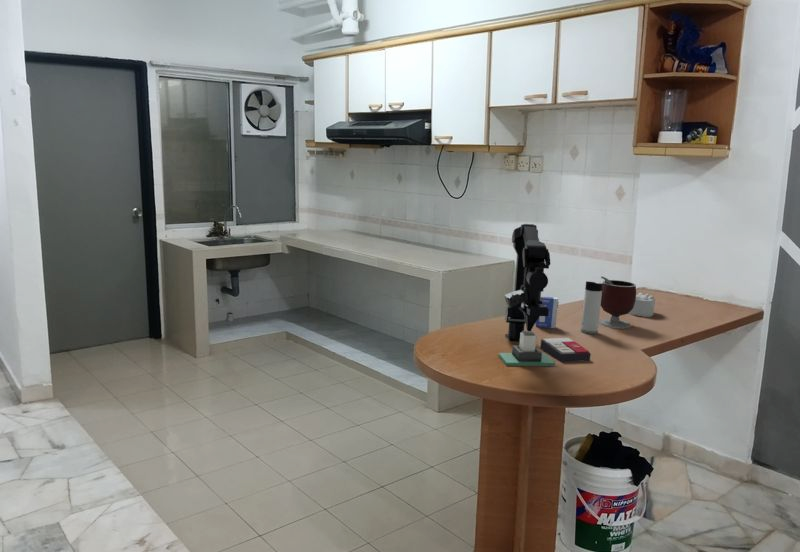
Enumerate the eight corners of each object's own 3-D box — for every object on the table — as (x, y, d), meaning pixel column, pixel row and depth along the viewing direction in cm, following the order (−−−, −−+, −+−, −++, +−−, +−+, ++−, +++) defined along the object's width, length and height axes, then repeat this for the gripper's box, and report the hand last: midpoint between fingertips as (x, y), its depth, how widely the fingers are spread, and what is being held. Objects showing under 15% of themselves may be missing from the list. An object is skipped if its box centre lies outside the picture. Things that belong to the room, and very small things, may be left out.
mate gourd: (618, 319, 279) (623, 272, 275) (639, 328, 266) (645, 279, 262) (586, 320, 274) (591, 273, 270) (606, 329, 261) (612, 279, 257)
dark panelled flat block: (561, 352, 217) (541, 337, 231) (560, 364, 218) (539, 348, 232) (591, 351, 220) (569, 336, 234) (589, 363, 221) (568, 347, 235)
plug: (518, 352, 218) (520, 330, 217) (532, 353, 219) (534, 330, 217) (522, 356, 214) (524, 334, 213) (536, 356, 215) (538, 334, 213)
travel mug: (577, 331, 256) (582, 280, 252) (585, 328, 261) (590, 278, 257) (592, 335, 252) (597, 283, 248) (600, 332, 257) (605, 281, 253)
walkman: (536, 326, 260) (538, 297, 258) (535, 325, 263) (537, 295, 261) (556, 328, 260) (559, 298, 257) (555, 326, 262) (558, 296, 260)
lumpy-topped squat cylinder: (624, 313, 289) (626, 294, 288) (632, 308, 300) (634, 289, 298) (649, 318, 284) (651, 298, 282) (656, 312, 294) (658, 293, 293)
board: (498, 355, 221) (499, 344, 220) (544, 356, 223) (545, 344, 222) (506, 365, 211) (507, 353, 210) (554, 365, 213) (556, 354, 212)
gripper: (500, 277, 220) (497, 322, 223) (516, 289, 202) (512, 338, 205) (533, 278, 221) (529, 323, 224) (551, 290, 203) (547, 339, 206)
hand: (528, 330), depth 215 cm, fingers closed
